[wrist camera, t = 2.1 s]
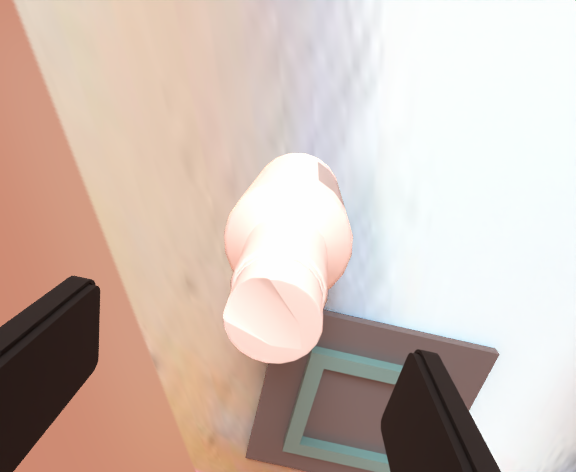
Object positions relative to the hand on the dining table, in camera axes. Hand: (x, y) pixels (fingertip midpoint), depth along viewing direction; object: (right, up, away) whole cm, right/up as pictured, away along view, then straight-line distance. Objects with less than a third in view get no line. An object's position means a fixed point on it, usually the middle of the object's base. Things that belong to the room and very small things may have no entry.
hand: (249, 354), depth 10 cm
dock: (+8, -14, +25) cm, 30 cm away
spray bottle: (+2, +7, +18) cm, 20 cm away
